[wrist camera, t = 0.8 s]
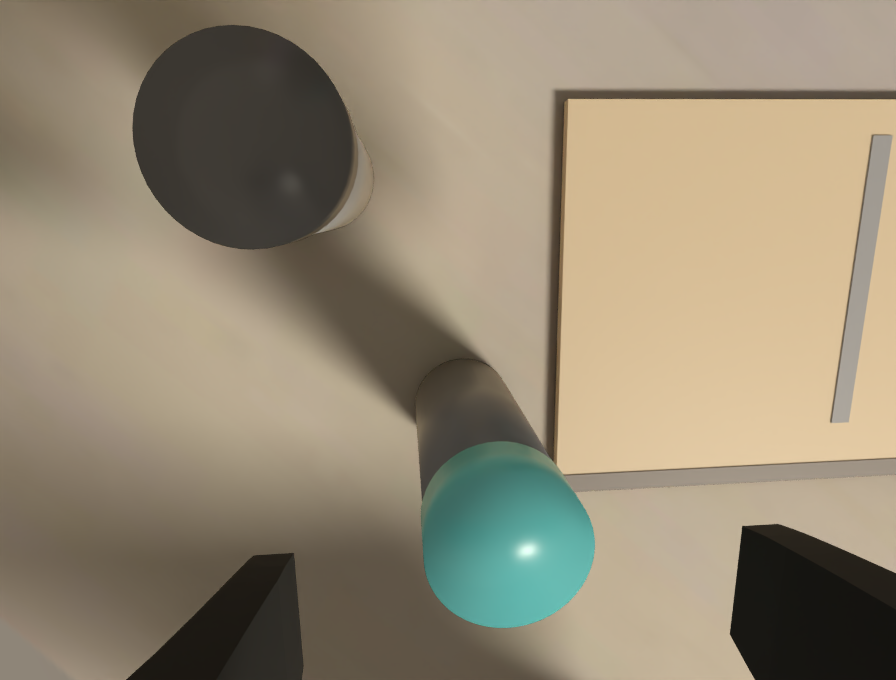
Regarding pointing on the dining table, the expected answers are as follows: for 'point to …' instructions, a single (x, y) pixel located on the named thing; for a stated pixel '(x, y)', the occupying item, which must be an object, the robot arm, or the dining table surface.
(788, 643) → the robot arm
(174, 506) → the dining table surface
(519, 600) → the cylinder
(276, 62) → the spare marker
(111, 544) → the dining table surface
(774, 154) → the notepad
